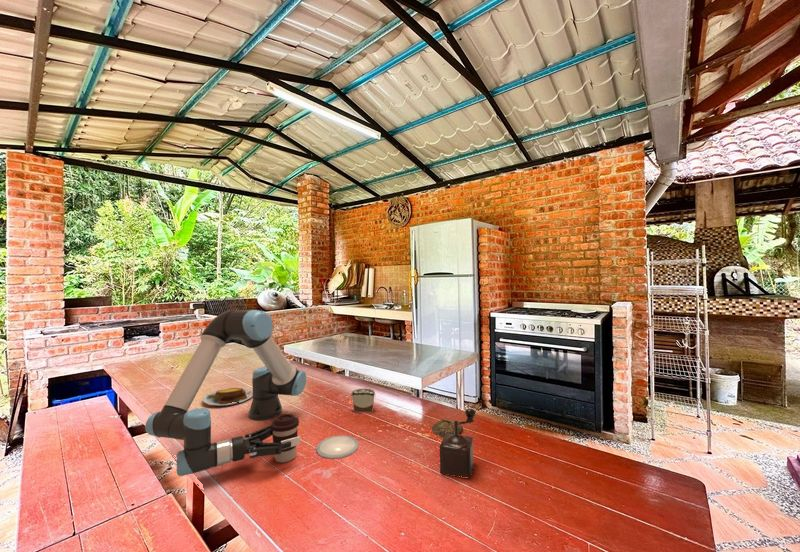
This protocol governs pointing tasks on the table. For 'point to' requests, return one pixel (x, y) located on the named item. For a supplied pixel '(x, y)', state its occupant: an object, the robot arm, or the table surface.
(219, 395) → the food on plate
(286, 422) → the coffee cup
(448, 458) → the manual coffee grinder
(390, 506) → the table surface
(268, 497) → the table surface
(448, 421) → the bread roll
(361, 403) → the food container
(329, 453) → the saucer
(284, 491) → the table surface
